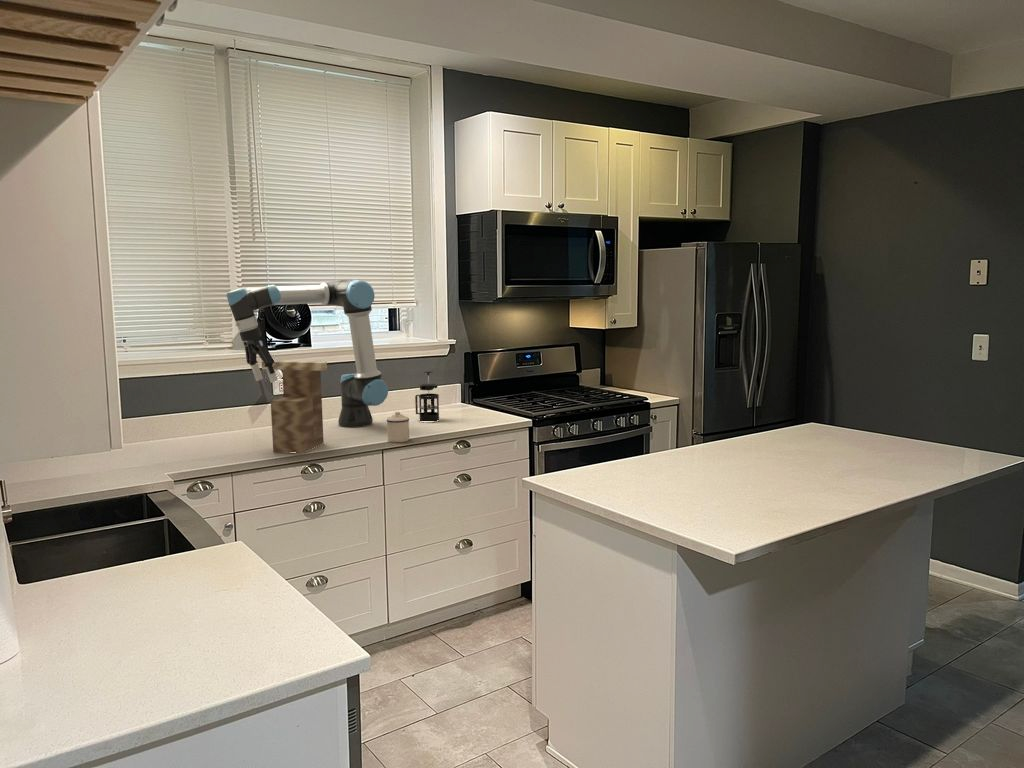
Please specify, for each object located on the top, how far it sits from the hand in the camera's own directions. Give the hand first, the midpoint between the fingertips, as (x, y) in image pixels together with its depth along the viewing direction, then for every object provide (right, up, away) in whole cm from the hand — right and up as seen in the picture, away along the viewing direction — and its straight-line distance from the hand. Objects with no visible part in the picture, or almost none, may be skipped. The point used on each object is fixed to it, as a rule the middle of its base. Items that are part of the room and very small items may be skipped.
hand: (266, 380), depth 293 cm
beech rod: (+11, +4, 0) cm, 12 cm away
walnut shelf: (+13, -26, -1) cm, 29 cm away
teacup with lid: (+49, -24, +12) cm, 56 cm away
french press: (+57, -18, +52) cm, 79 cm away
